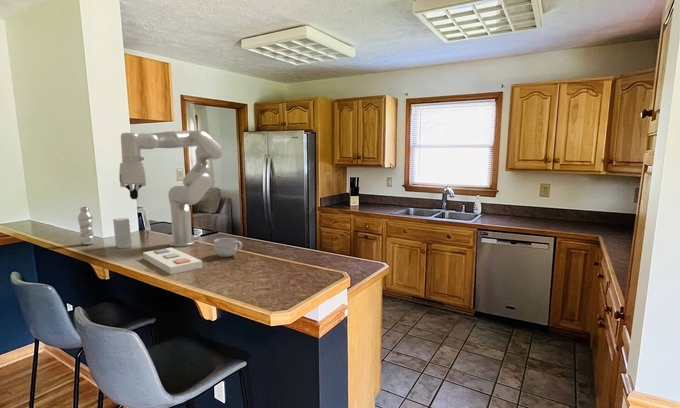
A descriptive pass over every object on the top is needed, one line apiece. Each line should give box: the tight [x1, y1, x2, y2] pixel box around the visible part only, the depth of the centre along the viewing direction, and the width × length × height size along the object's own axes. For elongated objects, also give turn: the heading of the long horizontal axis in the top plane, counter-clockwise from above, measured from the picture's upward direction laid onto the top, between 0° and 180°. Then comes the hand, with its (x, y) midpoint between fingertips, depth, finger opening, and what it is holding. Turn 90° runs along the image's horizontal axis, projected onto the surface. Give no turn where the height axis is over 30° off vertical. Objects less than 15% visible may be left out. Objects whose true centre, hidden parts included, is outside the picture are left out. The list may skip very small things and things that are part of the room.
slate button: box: [153, 248, 169, 254], centre depth 168 cm, size 5×5×2 cm
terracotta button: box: [173, 258, 190, 264], centre depth 153 cm, size 5×5×2 cm
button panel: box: [142, 247, 203, 275], centre depth 161 cm, size 13×32×3 cm, turn 46°
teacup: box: [213, 237, 243, 258], centre depth 173 cm, size 14×11×8 cm
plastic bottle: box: [77, 206, 96, 246], centre depth 191 cm, size 6×7×20 cm
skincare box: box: [112, 217, 133, 250], centre depth 188 cm, size 8×6×15 cm
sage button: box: [163, 253, 179, 259], centre depth 160 cm, size 5×5×2 cm
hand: (134, 198), depth 170 cm, fingers closed
